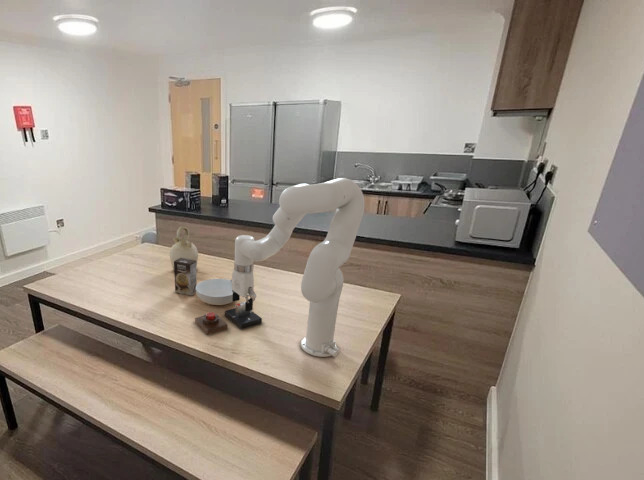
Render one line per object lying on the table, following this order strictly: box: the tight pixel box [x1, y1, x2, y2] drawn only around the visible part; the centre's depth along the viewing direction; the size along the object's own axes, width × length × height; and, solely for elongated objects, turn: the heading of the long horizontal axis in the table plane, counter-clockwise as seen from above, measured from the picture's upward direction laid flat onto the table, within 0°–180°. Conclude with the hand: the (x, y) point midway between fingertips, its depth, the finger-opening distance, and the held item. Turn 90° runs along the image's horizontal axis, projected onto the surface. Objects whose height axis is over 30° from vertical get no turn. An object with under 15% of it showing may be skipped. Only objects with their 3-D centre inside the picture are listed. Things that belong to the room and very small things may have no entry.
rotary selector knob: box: [235, 301, 250, 317], centre depth 155 cm, size 6×2×5 cm, turn 118°
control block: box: [194, 313, 228, 335], centre depth 152 cm, size 11×9×4 cm
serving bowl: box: [195, 278, 234, 306], centre depth 173 cm, size 21×21×7 cm
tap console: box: [224, 307, 263, 330], centre depth 157 cm, size 13×10×3 cm
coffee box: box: [173, 258, 198, 296], centre depth 180 cm, size 9×6×16 cm
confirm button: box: [205, 311, 216, 320], centre depth 151 cm, size 4×4×2 cm
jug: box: [169, 226, 199, 271], centre depth 204 cm, size 15×16×25 cm
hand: (242, 305), depth 155 cm, fingers open, 9 cm apart
